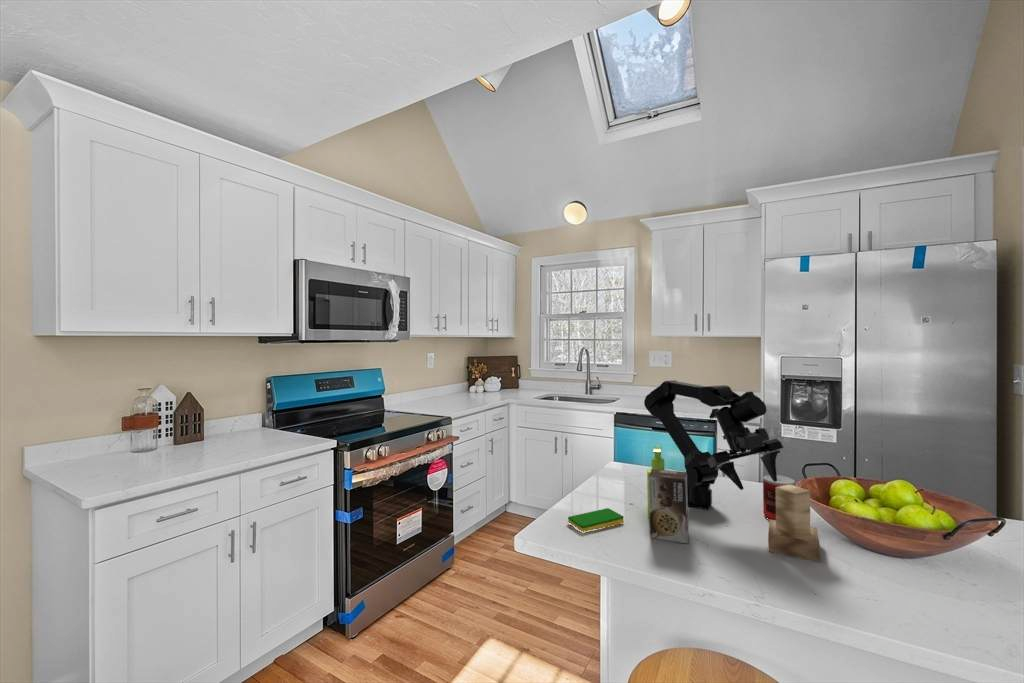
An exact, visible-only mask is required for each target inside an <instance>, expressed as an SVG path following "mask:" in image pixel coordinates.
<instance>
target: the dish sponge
mask: <svg viewBox="0 0 1024 683" xmlns="http://www.w3.org/2000/svg"><path fill="white" fill-rule="evenodd" d="M567 519H568V521H567V522H569V523H571V524H572V525H574V526H575V527H577V528H578V529H579V530H581V531H583V532H584V531H588V530H593V529H599V528H603V527H608V526H612V525H617V524H621V523H624V521H625V520H624V515H621V514H620V513H618V512H616V511H614V510H613V509H611V508H608V507H606V508H603V509H597V510H593V511H588V512H584V513H580V514H575V515H571V516H568V517H567ZM624 524H625V523H624ZM621 525H622V524H621ZM617 526H618V525H617Z"/></svg>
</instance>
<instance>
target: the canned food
mask: <svg viewBox="0 0 1024 683" xmlns="http://www.w3.org/2000/svg"><path fill="white" fill-rule="evenodd" d="M789 484H791V485H794V486H796V481H795V480H794V479H793V478H791V477H788V476H785V475H779V474H777V481H776V482H774V481H773V480H772V478H771V477H770V475H769V474H765V475H763V478H762V490H763V491H762V494H763V495H762V499H763V502H762V505H763V506H762V508H763V512H762V513H763V515H764V518H765V519H767V518H768V519H771V520H776V487H779V486H784V485H789ZM768 519H767V520H768Z"/></svg>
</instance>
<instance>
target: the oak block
mask: <svg viewBox="0 0 1024 683" xmlns="http://www.w3.org/2000/svg"><path fill="white" fill-rule="evenodd" d="M810 526H811V490H809V489H806V488H802V487H799V486H796V485H795V486H794V485H791V484H789V485H784V486H779V487H776V528H777V529H779V530H782V531H784V532H786V533H789V534H791V535H793V536H795V537H796V536H800V535H804V534H808V533H810Z"/></svg>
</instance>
